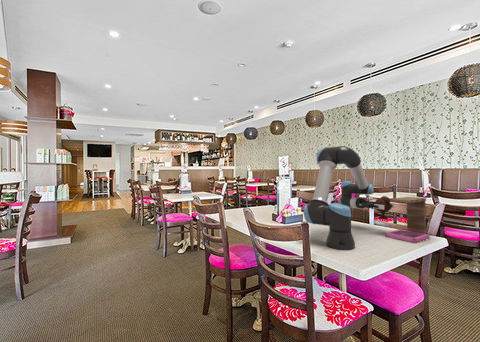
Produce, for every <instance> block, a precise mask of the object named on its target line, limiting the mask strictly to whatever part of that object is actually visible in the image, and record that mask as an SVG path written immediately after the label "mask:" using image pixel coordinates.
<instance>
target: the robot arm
mask: <svg viewBox="0 0 480 342" xmlns="http://www.w3.org/2000/svg"><path fill="white" fill-rule="evenodd" d="M316 163H317V164H318V167H319V171H318V174H317V178H316V182H315V183H316V184H315V189H314V193H313V196H312V198H311V199H309V201H308V202H309V203H306V204H305V205H304V207H303V216H304V220H305V221H306V223H308V222H309V223H308V224H312V225H320V226H325V227H326V226H327V227H329V231H328V235H327V239H326V241H325V242H326V246H327V247H329V248H332V249H336V250H343V251H344V250H345V251H347V250H353V249H355V248H356V242H355V240H354V236H353V233H352V211H351V208H354V209H356V208H357V209H363V210H364V209H365V208H367V209H371V210H374V209H375V208H376V209H384V205H378V204H375V201H372V200H371V201H370V200H366V198H364V197H354V196H353V195H366V196H367V195H374V189H375V187H374V185H373V184H371V183H369V181H368V180H367V177H366V175H365V172H364V170H363V167H362V160H361V157H360V155H359V154H358V153H357V152H356V151H355V150H353V148H351V147H348V146H345V145H340V146H332V147H327V146H325V147H321V148H319V149H318V151H317V154H316ZM342 164H343V165H345V166H346V167H347V168H348V169H349V171H350V173H351V176H352V178H353V180H354V182H355V183H353V182H352V181H351V180H350V181H349V180H348V181H347V180H346V181H341V183H340V186H341V187H340V189H341V190H340V192H341V195H340V196H339V197H338V200H337V202H338V203H328V199H329V196H330V195H329V194H330V193H329V192H330V189H331V183H332V179H333V174H334V170H335V169H337V166H338V165H342ZM373 204H374V205H373ZM390 204H392V208H391V209H395V203H393V202H392V203H391V202H390ZM376 209H375V210H376Z"/></svg>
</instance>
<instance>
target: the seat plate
mask: <svg viewBox="0 0 480 342" xmlns="http://www.w3.org/2000/svg"><path fill="white" fill-rule="evenodd" d="M384 234H385V237H386V238H391V239H395V240H398V241H403V242H408V243H413V244H418V243H421V242H424V241H427V240H426V239H428V240H430V239H431V238H430V234H427V233H426V234H423V233H417V232H412V231H407V230H405V229H396V230H395V229H394V230H391V231H387V232H384ZM429 238H430V239H429ZM423 240H424V241H423ZM420 241H421V242H420ZM417 242H418V243H417Z"/></svg>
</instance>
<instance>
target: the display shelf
mask: <svg viewBox="0 0 480 342" xmlns="http://www.w3.org/2000/svg"><path fill="white" fill-rule="evenodd" d="M426 201H427V197H417V196H403V197H402V196H401V197H396V198H395V197H394V198H390V202H392V203H393V202H394V203H395V202H396V203H406V229H407V230H406V231H412V232H417V233H423V234H427V215H426V214H427V213H426V211H427V210H426Z"/></svg>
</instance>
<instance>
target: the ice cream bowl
mask: <svg viewBox="0 0 480 342" xmlns="http://www.w3.org/2000/svg"><path fill="white" fill-rule="evenodd" d="M374 202H375V204H378V205H384V209H376V208H374V209H375V210H376V211H378V212H380V214H381V215H380V216H379V217H378V219H379V220H388V219H389V218H388V217H387V216H386V215H385V213H387V212H389V211H390V210H391V209H393V208H392V204H390V203H391V198H389V197H388V196H386V195H383V196H381V197H380V198H377V199H375V201H374ZM373 205H374V204H373Z"/></svg>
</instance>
